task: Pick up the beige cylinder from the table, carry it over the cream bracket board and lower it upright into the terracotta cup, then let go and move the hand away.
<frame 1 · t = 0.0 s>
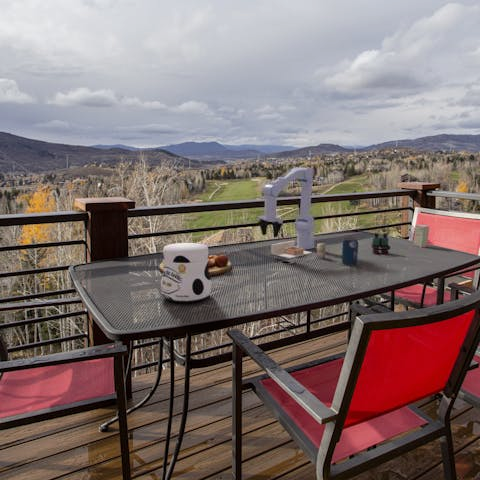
hand: (269, 236, 203), 10 cm above the table, tool pointing down, fingers open, 7 cm apart
beige cylinder: (320, 257, 202), on the table
cup bracket: (293, 254, 209), on the table
wooden plate with food: (195, 269, 181), on the table
soda can: (349, 264, 190), on the table
binoculars: (380, 254, 213), on the table
skincare box: (420, 246, 232), on the table
milk container: (186, 298, 141), on the table
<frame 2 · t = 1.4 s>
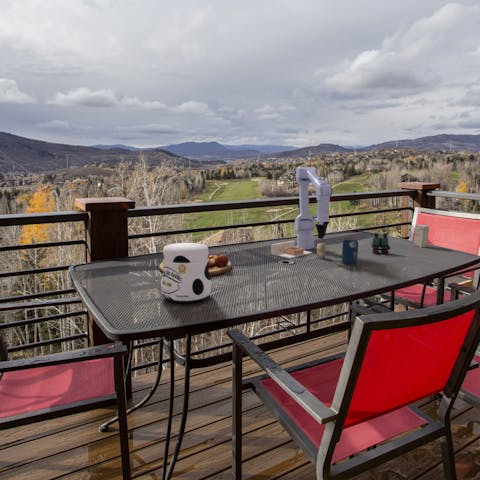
hand: (321, 237, 200), 10 cm above the table, tool pointing down, fingers open, 7 cm apart
nothing on the table moved.
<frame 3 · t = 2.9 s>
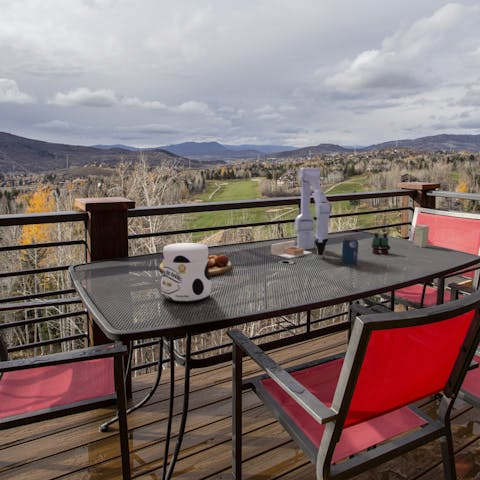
hand: (321, 254, 201), 2 cm above the table, tool pointing down, fingers closed on beige cylinder, 4 cm apart
beige cylinder: (320, 257, 202), on the table, touching gripper
everything else where it was.
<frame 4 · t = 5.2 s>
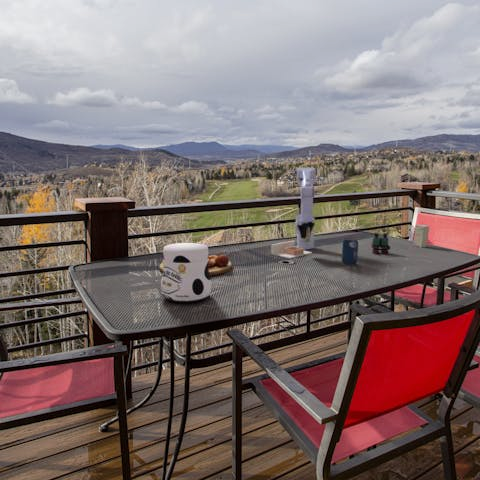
hand: (305, 237, 204), 9 cm above the table, tool pointing down, fingers closed on beige cylinder, 4 cm apart
beige cylinder: (305, 241, 205), point 7 cm above the table, touching gripper
everything else where it was.
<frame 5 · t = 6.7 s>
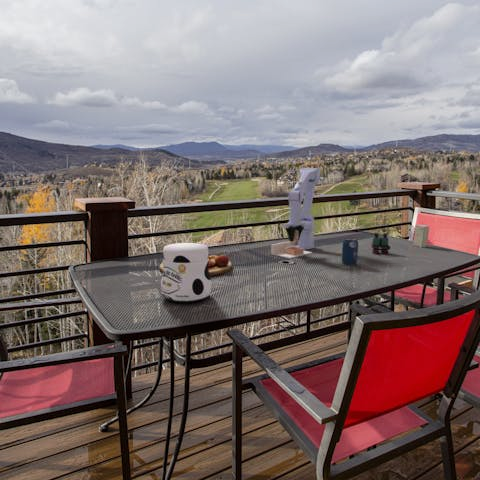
hand: (294, 240, 207), 7 cm above the table, tool pointing down, fingers closed on beige cylinder, 4 cm apart
beige cylinder: (294, 244, 208), point 5 cm above the table, touching gripper
everything else where it was.
when the fingers open (5 cm above the table, at t = 7.6 s): beige cylinder drops 2 cm, resting on cup bracket.
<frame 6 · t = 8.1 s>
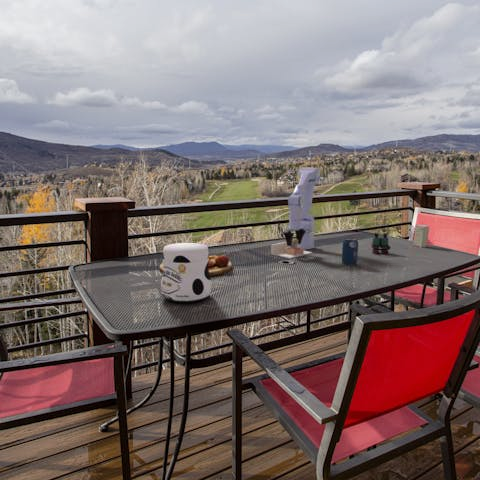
hand: (294, 244, 208), 5 cm above the table, tool pointing down, fingers open, 7 cm apart
beige cylinder: (293, 253, 209), point 1 cm above the table, touching cup bracket
everything else where it was.
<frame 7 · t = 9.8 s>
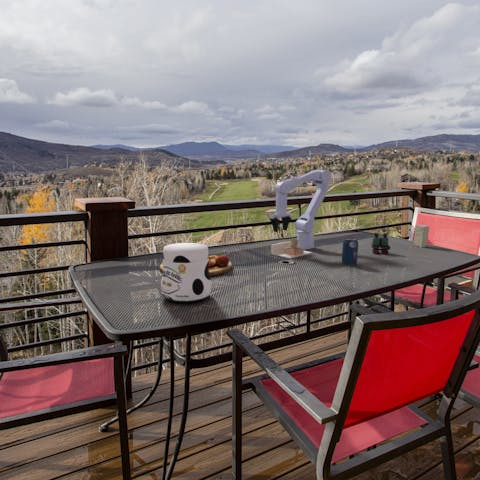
hand: (280, 231, 216), 10 cm above the table, tool pointing down, fingers open, 7 cm apart
nothing on the table moved.
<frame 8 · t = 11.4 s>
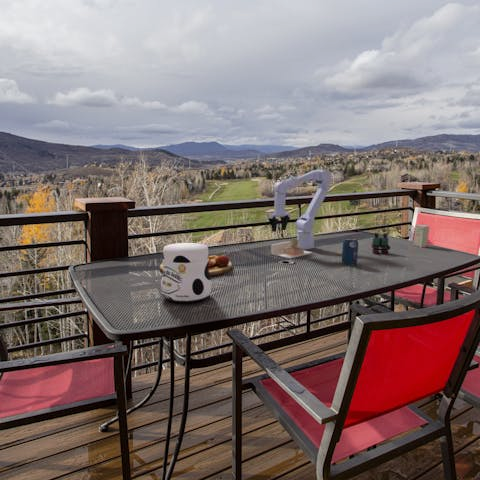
hand: (278, 230, 217), 10 cm above the table, tool pointing down, fingers open, 7 cm apart
nothing on the table moved.
at the end: beige cylinder 0.1 cm off-centre on the cup bracket, point 0.5 cm above the cup bracket's base; beige cylinder tilted 1°; the gripper is holding nothing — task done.
